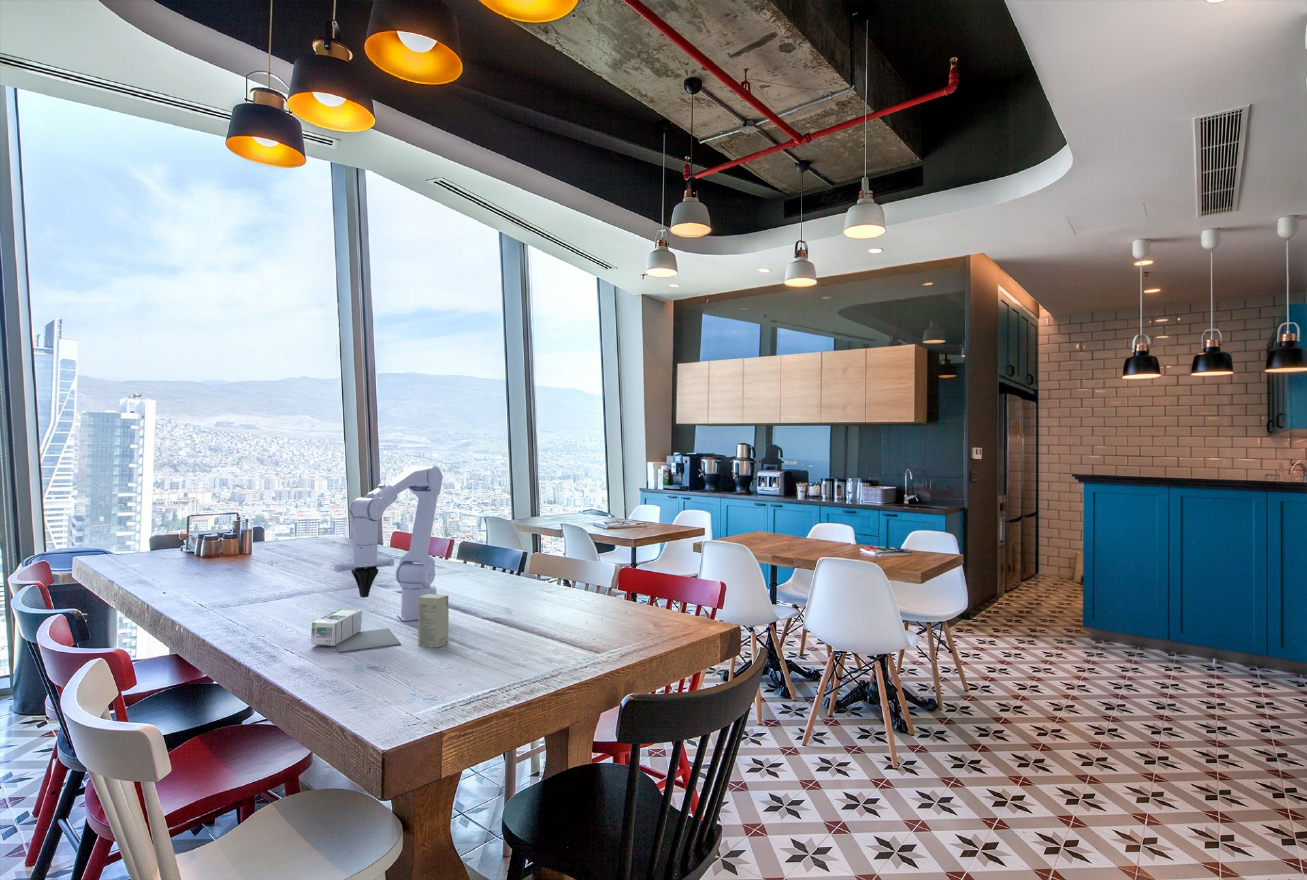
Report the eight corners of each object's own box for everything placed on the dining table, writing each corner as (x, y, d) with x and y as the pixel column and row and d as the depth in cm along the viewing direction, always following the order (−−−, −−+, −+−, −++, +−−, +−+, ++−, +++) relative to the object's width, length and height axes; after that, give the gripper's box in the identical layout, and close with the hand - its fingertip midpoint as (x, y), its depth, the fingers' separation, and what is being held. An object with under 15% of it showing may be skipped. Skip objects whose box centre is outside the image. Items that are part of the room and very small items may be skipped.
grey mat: (388, 629, 178) (388, 628, 178) (400, 645, 164) (400, 643, 164) (331, 636, 170) (331, 635, 170) (339, 653, 157) (339, 651, 157)
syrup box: (362, 609, 175) (334, 622, 161) (361, 631, 175) (333, 646, 160) (341, 608, 175) (311, 621, 161) (340, 631, 175) (310, 645, 161)
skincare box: (449, 643, 166) (450, 595, 166) (438, 648, 162) (439, 598, 162) (427, 641, 168) (429, 592, 168) (416, 645, 164) (417, 596, 164)
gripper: (386, 540, 179) (385, 590, 179) (330, 544, 169) (329, 598, 168) (398, 543, 174) (396, 594, 174) (340, 547, 164) (339, 602, 163)
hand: (364, 596), depth 171 cm, fingers closed
